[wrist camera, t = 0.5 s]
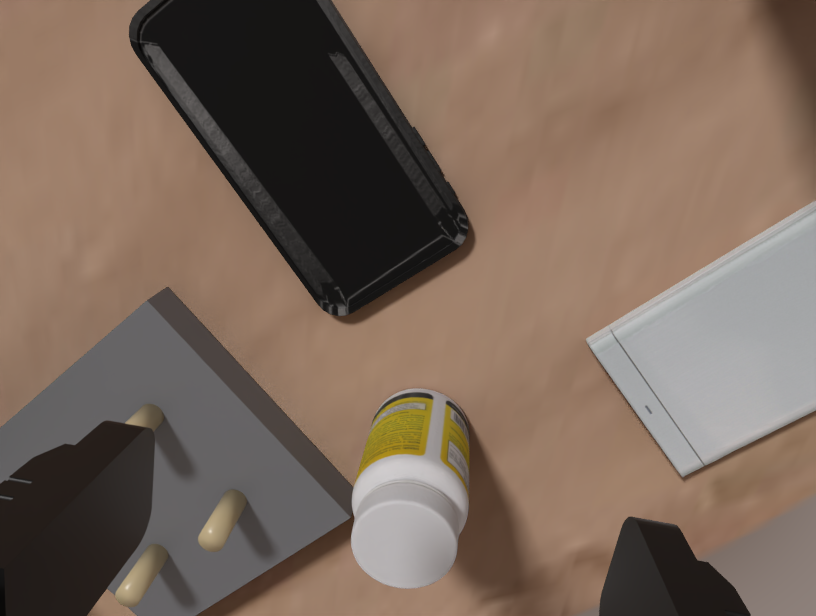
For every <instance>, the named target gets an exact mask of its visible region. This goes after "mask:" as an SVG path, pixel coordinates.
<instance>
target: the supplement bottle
mask: <svg viewBox="0 0 816 616" xmlns="http://www.w3.org/2000/svg"><path fill="white" fill-rule="evenodd" d="M352 510H353V514H354V517H355V520H354V524H353V529H352V534H351V546H352V551H353V554H354V557H355V559H356V561H357V562H358V564H359V565H360V567H361V568H362V569H363V570H364V571H365V572H366V573H367V574H368V575H369V576H371V577H372V578H374V579H375V580H377V581H379V582H381V583H383V584H386V585H389V586H392V587H397V588H405V589H410V588H419V587H424V586H427V585H430V584H432V583H434V582H436V581H438V580H440V579H441V578H442V577H443V576H444V575H446V574H447V572H448V571H449V570H450V569H451V567H452V565H453V563H454V562H455V559H456V555H457V548H458V538H459V534H460V533H461V532H462V530H463V528H464V526H465V523H466V520H467V516H468V510H469V426H468V422H467V419H466V417H465V415H464V413H463V411H462V410H461V408H460V407H459V406H458V405H457V404H456V403H455V402H454V401H453V400H452V399H450V398H449V397H447V396H445V395H443V394H441V393H439V392H436V391H433V390H428V389H420V388H414V389H407V390H403V391H400V392H398V393H396V394H394V395H392V396H391V397H389V398H388V399H387V400H386V401H385V402H384V403H383V404H382V405H381V406H380V408H379V409H378V411H377V412H376V414H375V417H374V419H373V422H372V426H371V429H370V433H369V436H368V440H367V443H366V447H365V450H364V453H363V457H362V460H361V464H360V467H359V471H358V474H357V478H356V481H355V484H354V488H353V493H352Z"/></svg>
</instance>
